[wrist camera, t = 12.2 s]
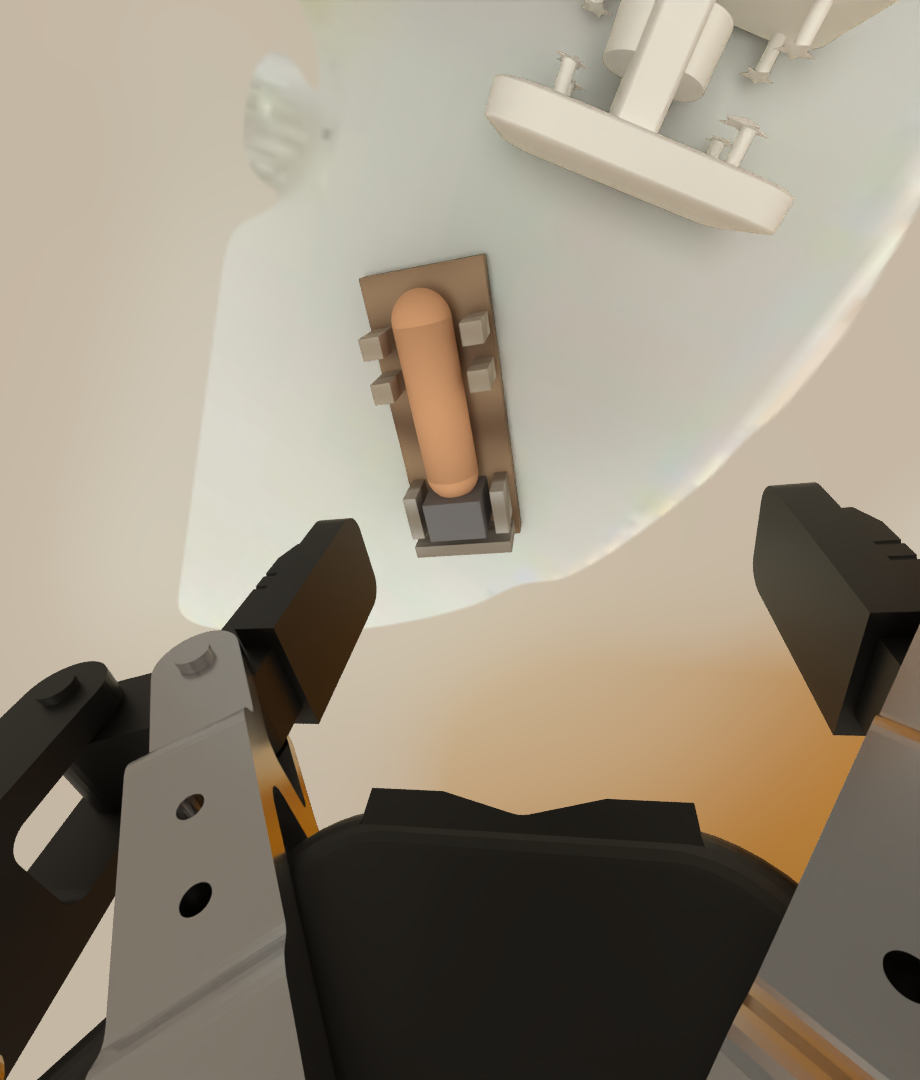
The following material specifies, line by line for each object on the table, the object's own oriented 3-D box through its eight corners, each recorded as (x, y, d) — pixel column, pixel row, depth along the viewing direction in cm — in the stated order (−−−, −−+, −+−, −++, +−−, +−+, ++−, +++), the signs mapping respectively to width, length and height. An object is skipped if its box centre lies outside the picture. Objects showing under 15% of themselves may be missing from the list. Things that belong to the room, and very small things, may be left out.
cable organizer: (488, 139, 31) (457, 108, 22) (562, -119, 25) (565, -320, 16) (714, 232, 32) (783, 242, 22) (837, 2, 26) (1002, -119, 16)
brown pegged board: (365, 276, 36) (340, 285, 32) (485, 253, 34) (475, 259, 30) (426, 530, 47) (414, 561, 43) (521, 523, 45) (517, 555, 41)
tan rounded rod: (391, 290, 35) (371, 299, 32) (453, 278, 34) (441, 286, 31) (441, 514, 44) (430, 542, 41) (492, 510, 43) (486, 538, 40)
